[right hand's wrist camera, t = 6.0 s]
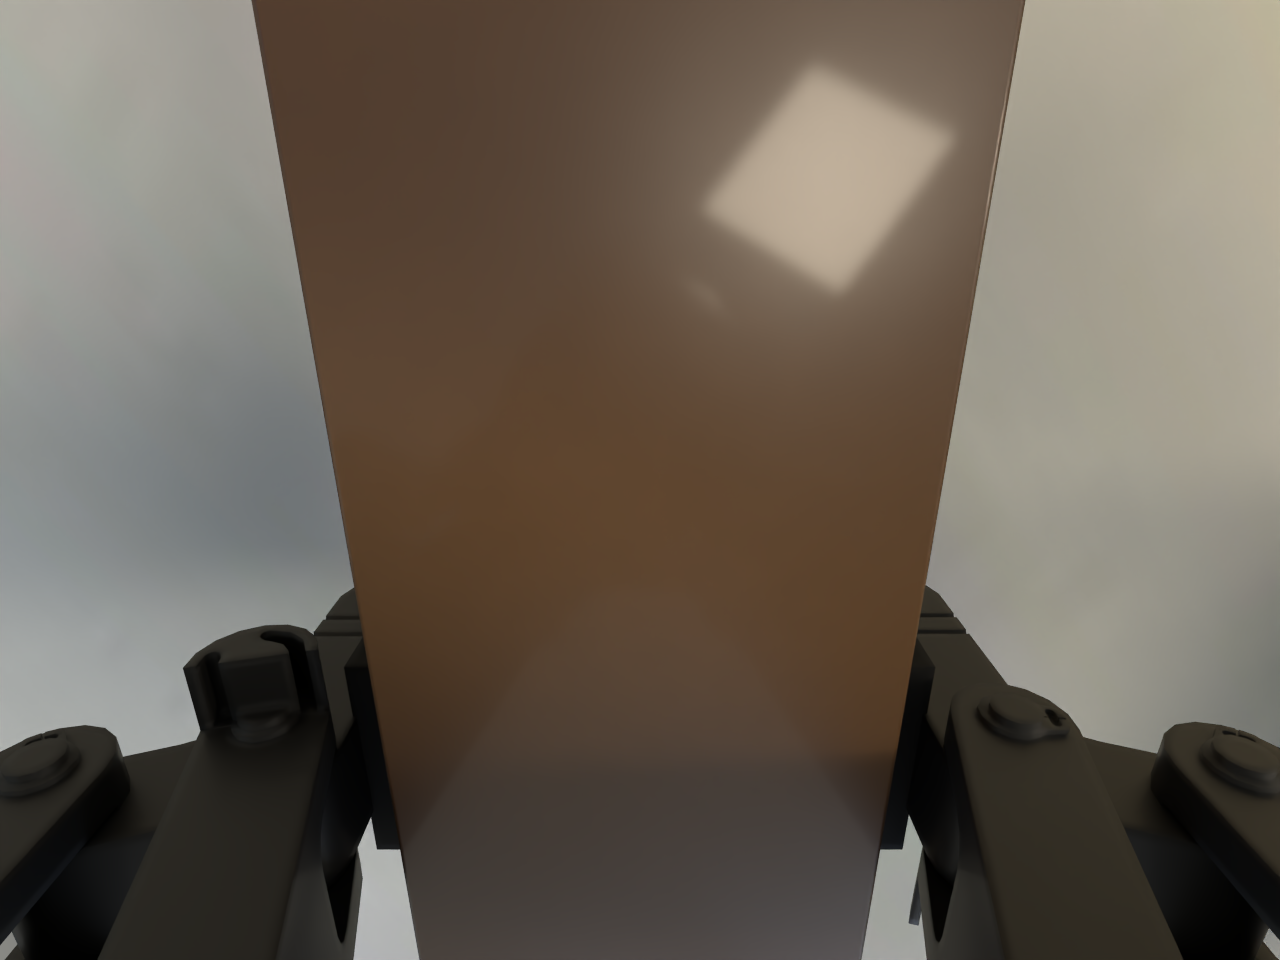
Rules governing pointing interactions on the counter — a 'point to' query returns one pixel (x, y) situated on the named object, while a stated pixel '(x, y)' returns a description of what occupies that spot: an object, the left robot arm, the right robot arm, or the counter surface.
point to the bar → (639, 436)
